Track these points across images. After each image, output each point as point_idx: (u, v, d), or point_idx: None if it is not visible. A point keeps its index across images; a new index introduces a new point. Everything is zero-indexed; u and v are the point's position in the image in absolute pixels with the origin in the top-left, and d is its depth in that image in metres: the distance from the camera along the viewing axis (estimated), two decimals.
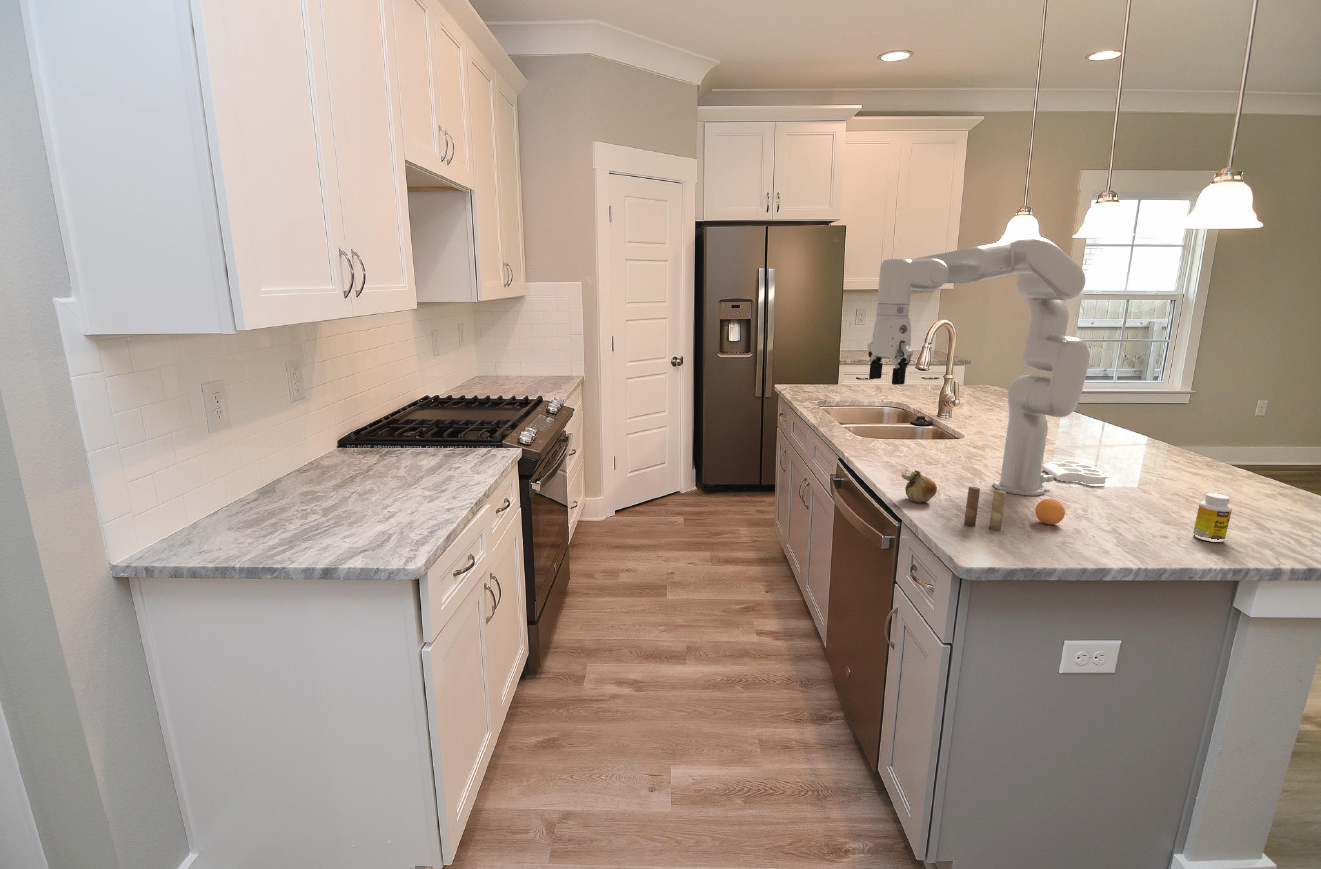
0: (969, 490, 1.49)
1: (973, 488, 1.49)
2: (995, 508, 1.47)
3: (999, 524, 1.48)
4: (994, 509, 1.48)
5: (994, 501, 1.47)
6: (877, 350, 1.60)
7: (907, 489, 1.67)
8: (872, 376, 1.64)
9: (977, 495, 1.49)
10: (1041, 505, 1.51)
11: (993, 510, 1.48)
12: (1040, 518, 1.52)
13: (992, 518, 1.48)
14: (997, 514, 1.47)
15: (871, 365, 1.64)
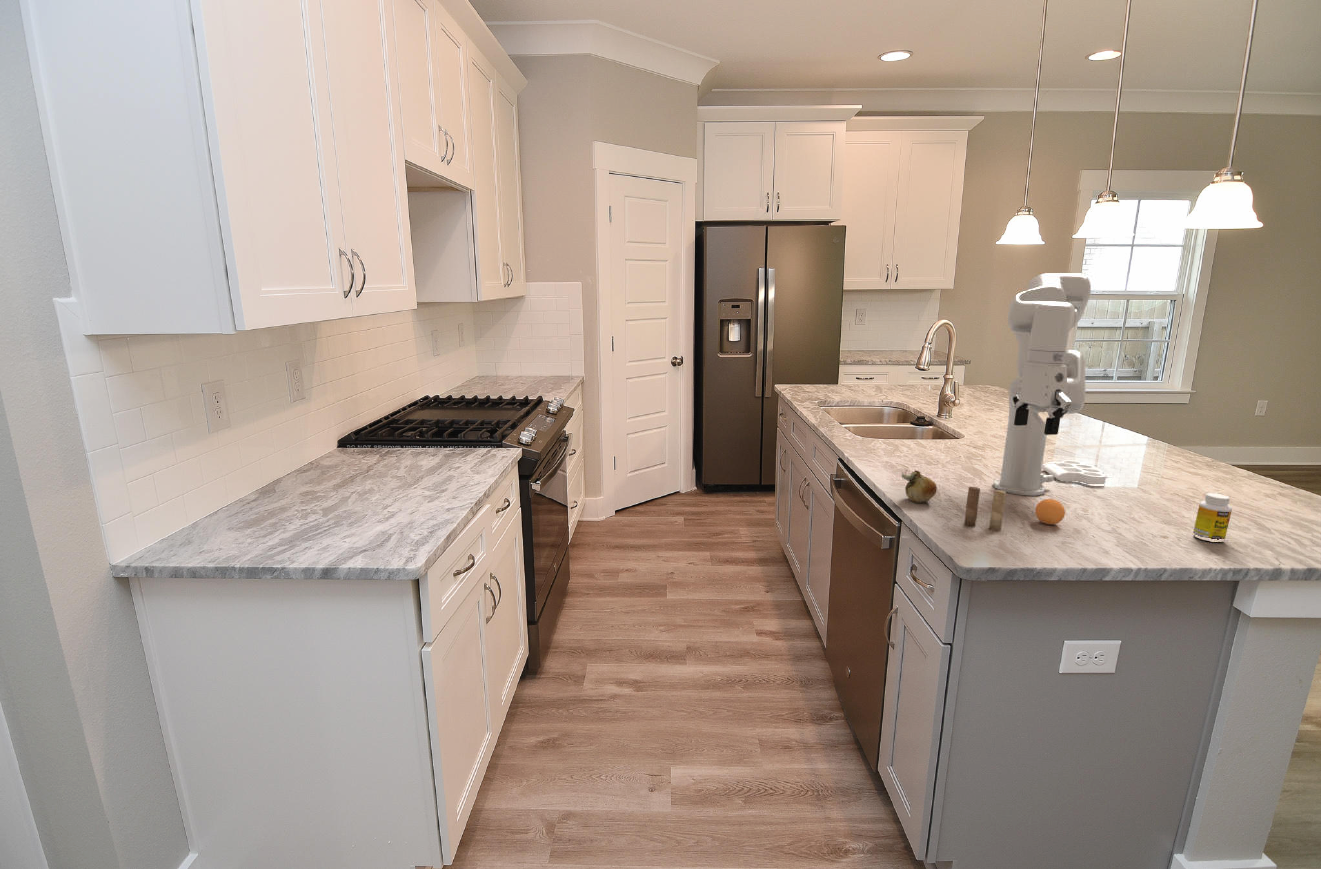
0: (969, 490, 1.49)
1: (973, 488, 1.49)
2: (995, 508, 1.47)
3: (999, 524, 1.48)
4: (994, 509, 1.48)
5: (994, 501, 1.47)
6: (1026, 397, 1.53)
7: (907, 489, 1.67)
8: (1018, 423, 1.58)
9: (977, 495, 1.49)
10: (1041, 505, 1.51)
11: (993, 510, 1.48)
12: (1040, 518, 1.52)
13: (992, 518, 1.48)
14: (997, 514, 1.47)
15: (1017, 411, 1.57)
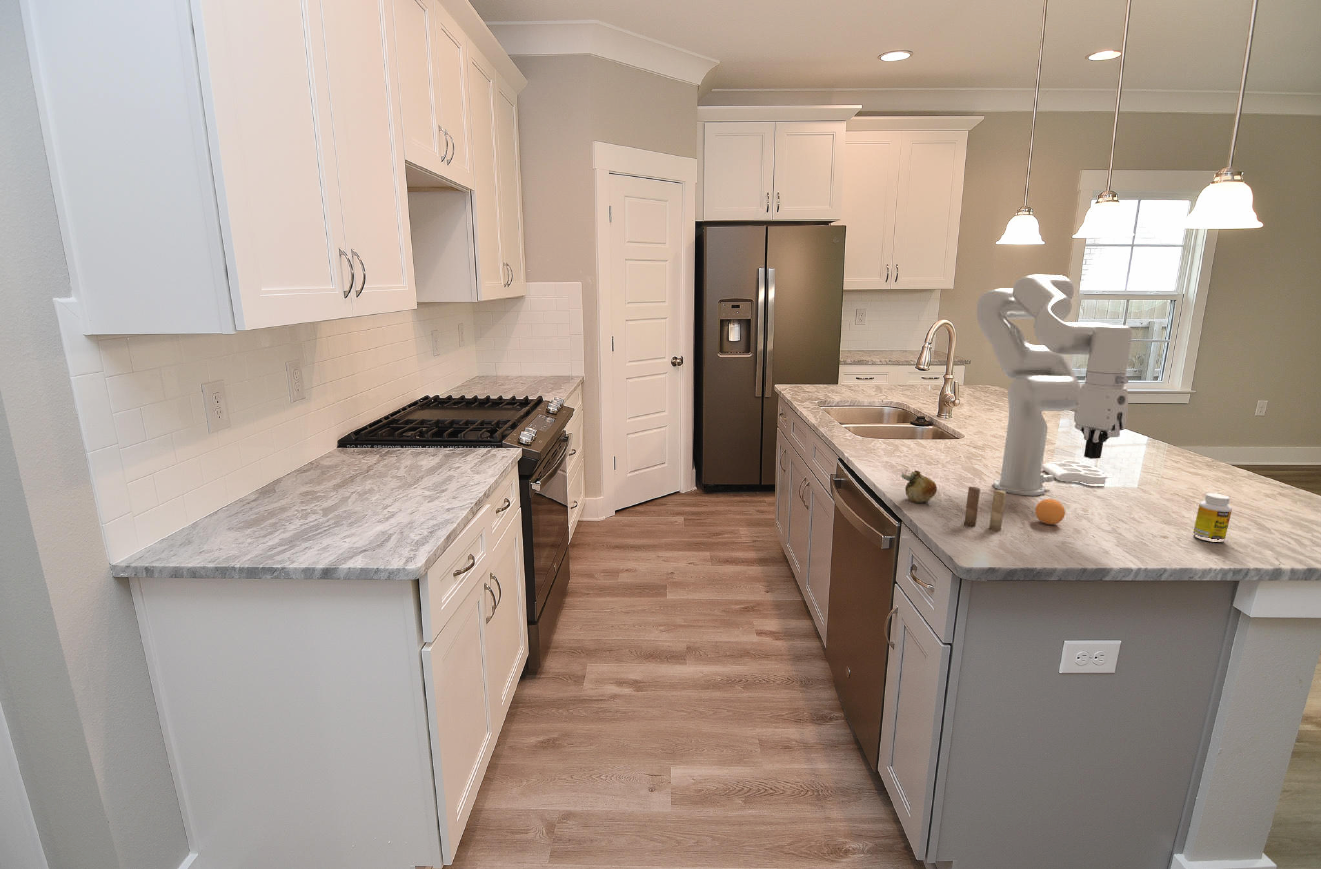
0: (969, 490, 1.49)
1: (973, 488, 1.49)
2: (995, 508, 1.47)
3: (999, 524, 1.48)
4: (994, 509, 1.48)
5: (994, 501, 1.47)
6: (1084, 419, 1.50)
7: (907, 489, 1.67)
8: None
9: (977, 495, 1.49)
10: (1041, 505, 1.51)
11: (993, 510, 1.48)
12: (1040, 518, 1.52)
13: (992, 518, 1.48)
14: (997, 514, 1.47)
15: (1088, 443, 1.51)
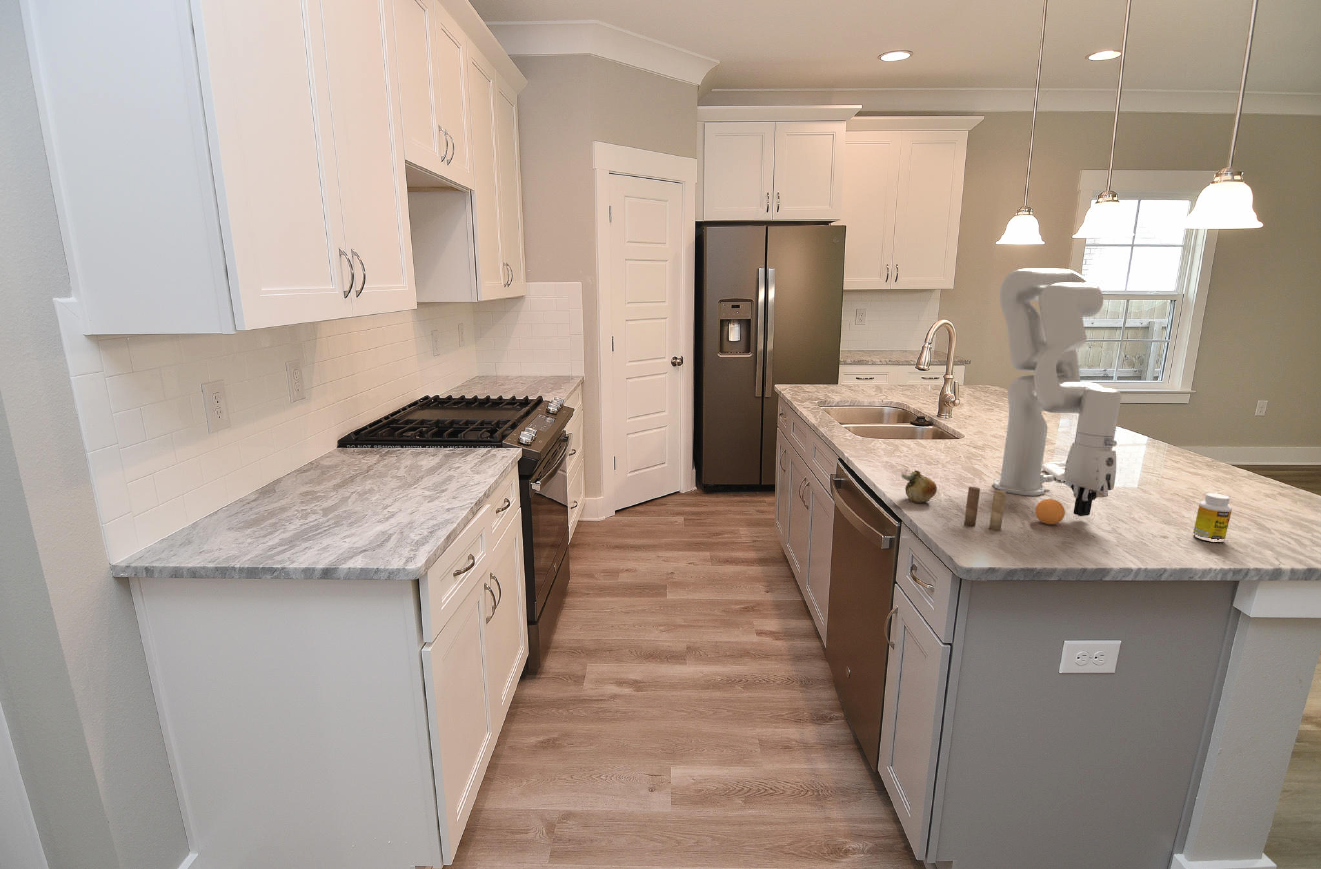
0: (969, 490, 1.49)
1: (973, 488, 1.49)
2: (995, 508, 1.47)
3: (999, 524, 1.48)
4: (994, 509, 1.48)
5: (994, 501, 1.47)
6: (1074, 478, 1.54)
7: (907, 489, 1.67)
8: None
9: (977, 495, 1.49)
10: (1041, 505, 1.51)
11: (993, 510, 1.48)
12: (1040, 518, 1.52)
13: (992, 518, 1.48)
14: (997, 514, 1.47)
15: (1077, 501, 1.54)
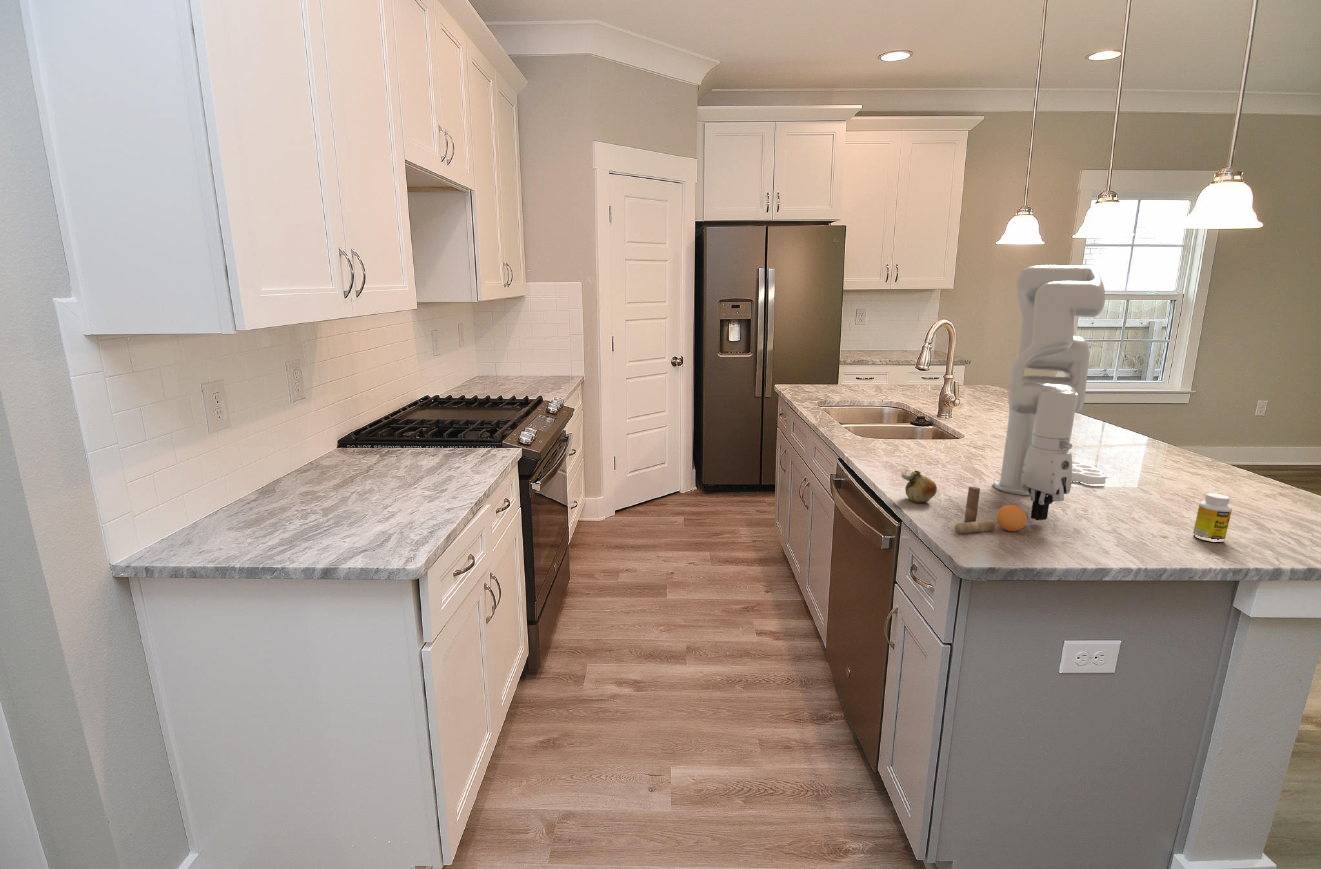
0: (969, 490, 1.49)
1: (973, 488, 1.49)
2: None
3: (989, 528, 1.47)
4: None
5: None
6: (1030, 481, 1.51)
7: (907, 489, 1.67)
8: None
9: (977, 495, 1.49)
10: None
11: None
12: None
13: None
14: (979, 531, 1.47)
15: (1034, 504, 1.51)
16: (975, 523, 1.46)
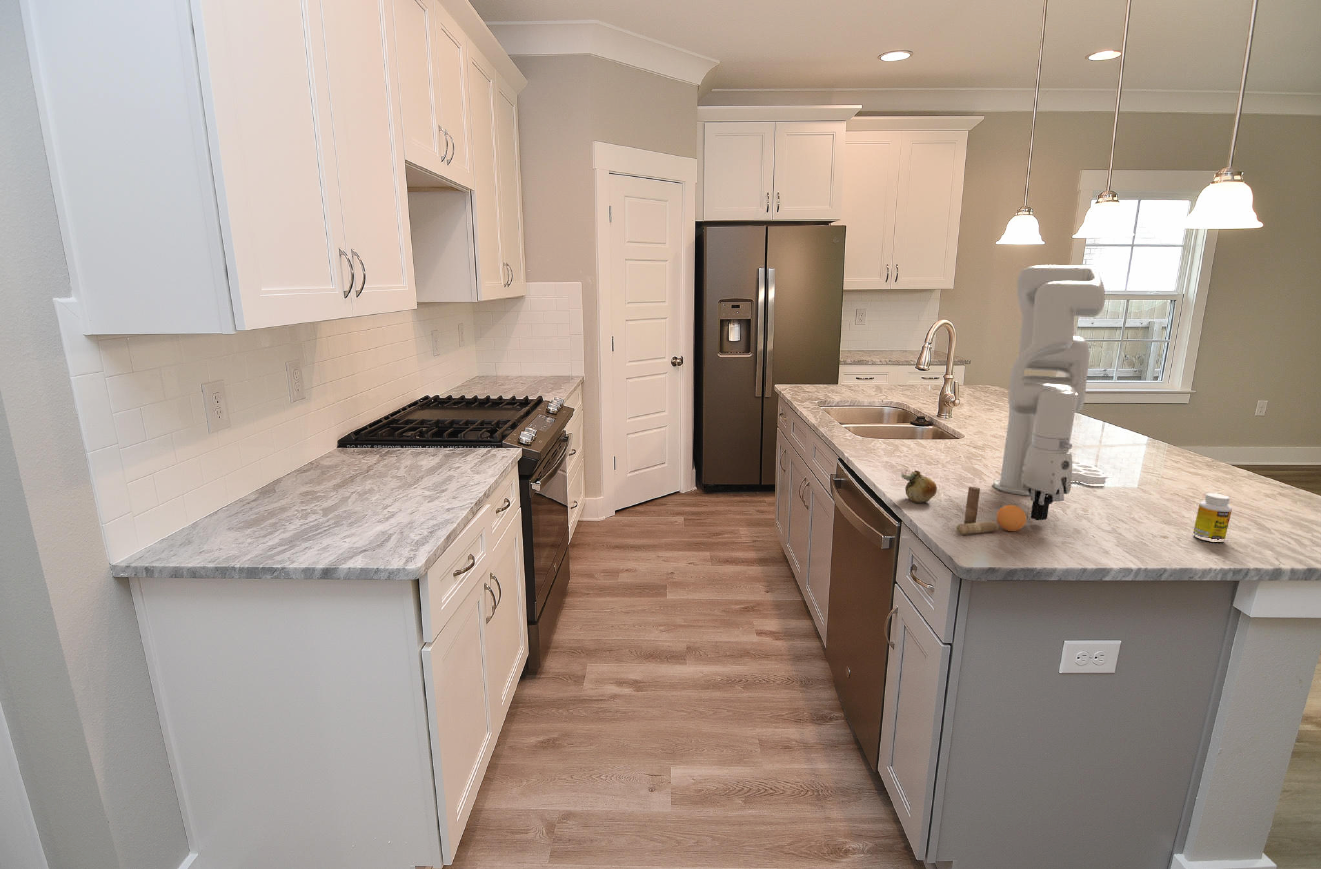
0: (969, 490, 1.49)
1: (973, 488, 1.49)
2: None
3: (990, 531, 1.47)
4: None
5: None
6: (1030, 481, 1.51)
7: (907, 489, 1.67)
8: None
9: (977, 495, 1.49)
10: None
11: None
12: None
13: None
14: (979, 532, 1.47)
15: (1034, 504, 1.51)
16: (978, 526, 1.45)
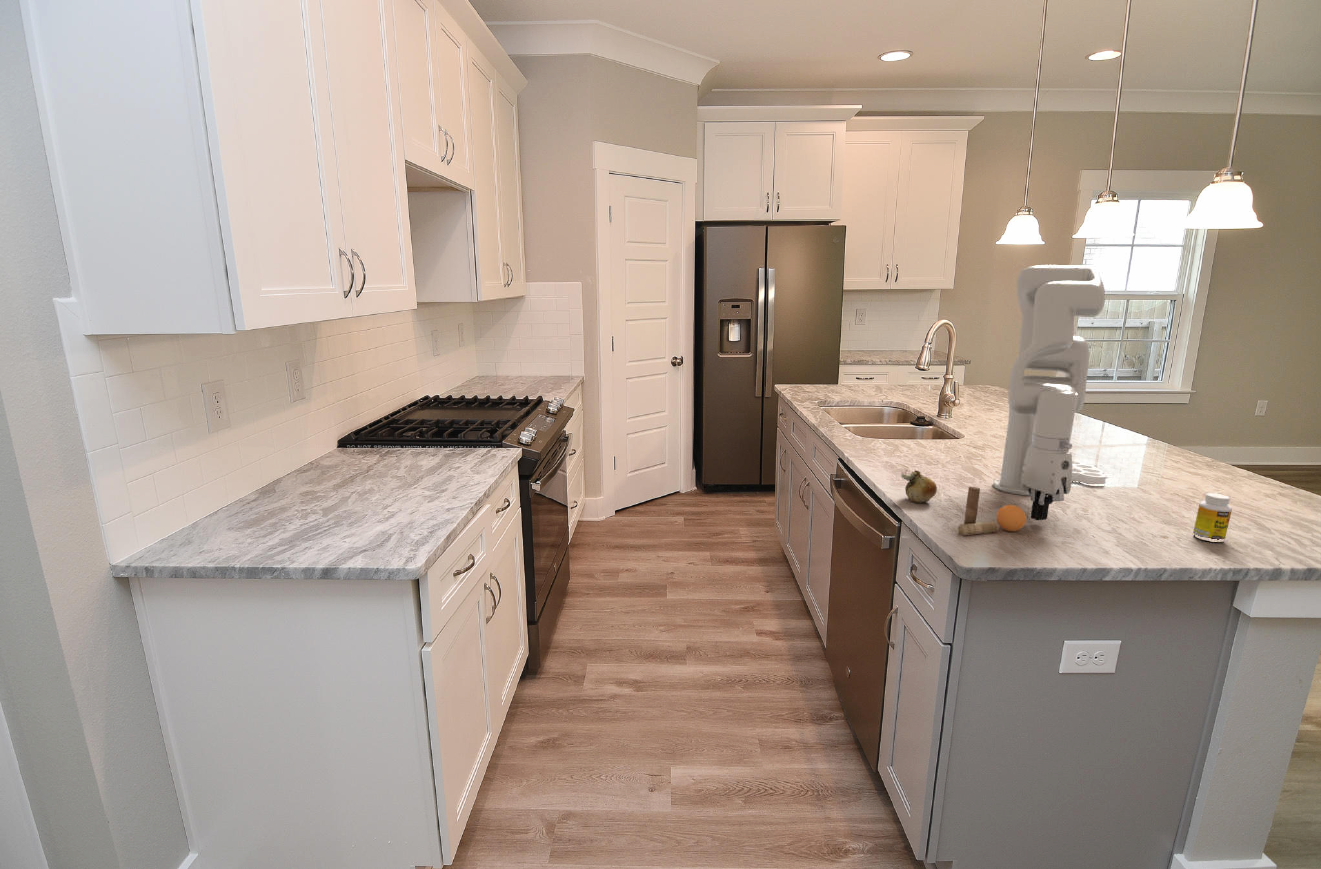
0: (969, 490, 1.49)
1: (973, 488, 1.49)
2: None
3: (990, 532, 1.47)
4: None
5: None
6: (1030, 481, 1.51)
7: (907, 489, 1.67)
8: None
9: (977, 495, 1.49)
10: None
11: None
12: None
13: None
14: None
15: (1034, 504, 1.51)
16: (980, 529, 1.45)
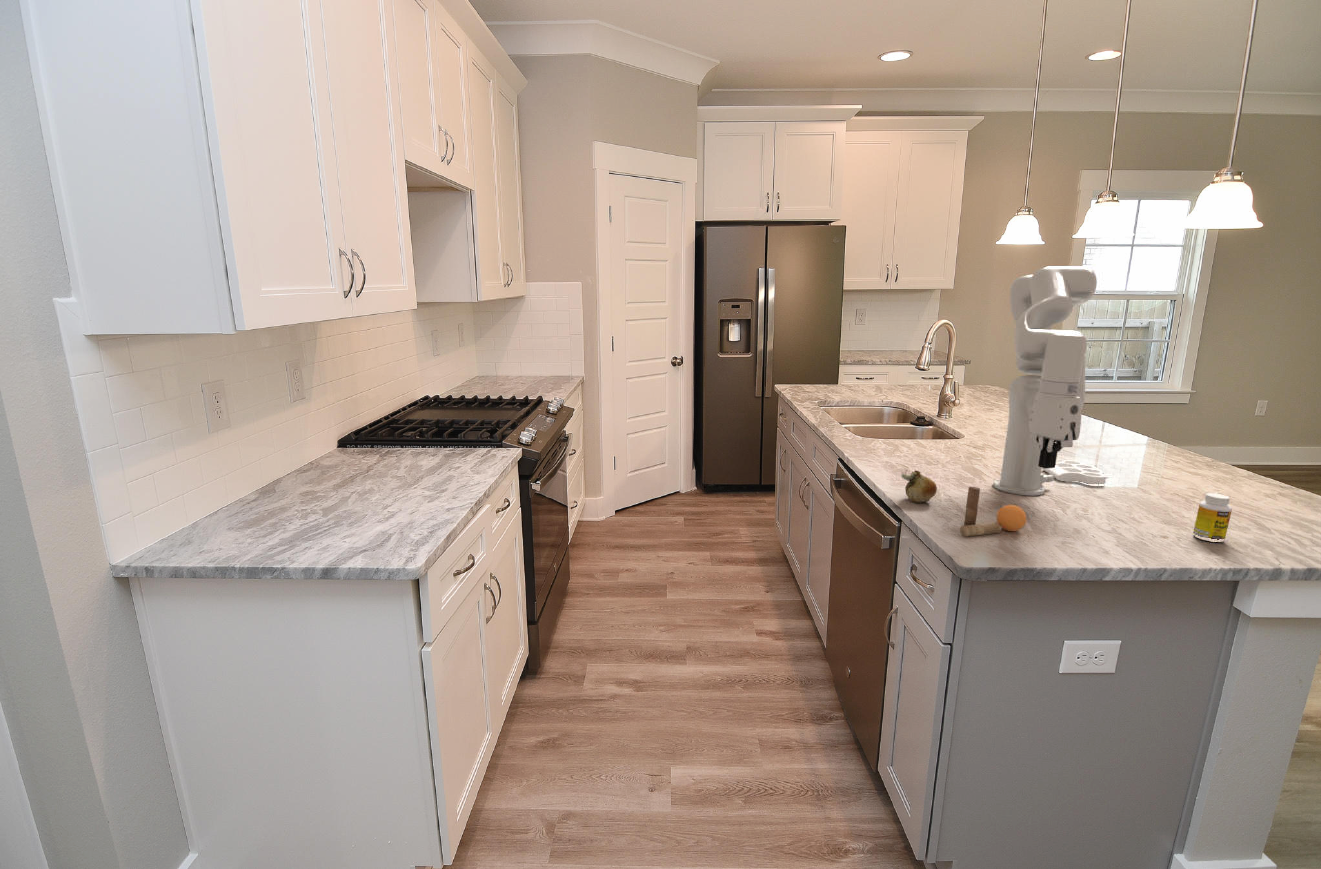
0: (969, 490, 1.49)
1: (973, 488, 1.49)
2: None
3: None
4: None
5: None
6: (1038, 429, 1.48)
7: (907, 489, 1.67)
8: None
9: (977, 495, 1.49)
10: None
11: None
12: None
13: None
14: None
15: (1042, 452, 1.48)
16: (982, 532, 1.45)
